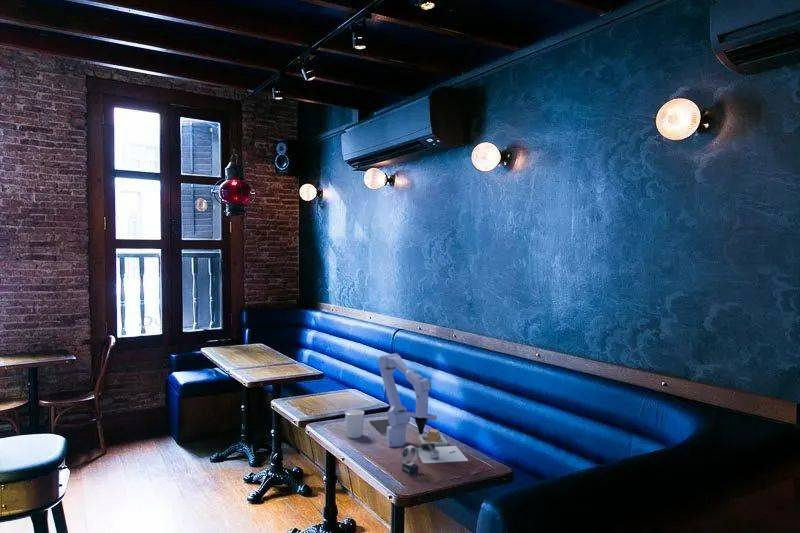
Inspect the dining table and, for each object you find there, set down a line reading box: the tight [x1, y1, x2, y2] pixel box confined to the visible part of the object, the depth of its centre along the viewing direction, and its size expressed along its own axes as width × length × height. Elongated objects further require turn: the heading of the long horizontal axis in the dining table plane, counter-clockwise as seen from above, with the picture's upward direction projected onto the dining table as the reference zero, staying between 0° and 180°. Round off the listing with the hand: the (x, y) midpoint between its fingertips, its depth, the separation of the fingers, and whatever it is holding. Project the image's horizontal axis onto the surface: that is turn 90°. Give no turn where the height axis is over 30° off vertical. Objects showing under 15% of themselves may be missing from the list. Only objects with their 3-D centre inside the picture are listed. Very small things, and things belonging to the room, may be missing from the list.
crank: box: [421, 442, 439, 459], centre depth 252 cm, size 14×6×3 cm, turn 12°
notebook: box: [369, 418, 390, 436], centre depth 292 cm, size 13×2×21 cm
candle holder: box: [344, 408, 365, 439], centre depth 278 cm, size 10×10×12 cm
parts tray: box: [418, 433, 449, 447], centre depth 269 cm, size 12×12×2 cm
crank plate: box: [413, 445, 469, 464], centre depth 253 cm, size 21×19×1 cm
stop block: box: [427, 428, 440, 443], centre depth 269 cm, size 4×4×6 cm
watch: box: [400, 445, 420, 476], centre depth 234 cm, size 6×8×11 cm
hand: (421, 433), depth 255 cm, fingers closed
